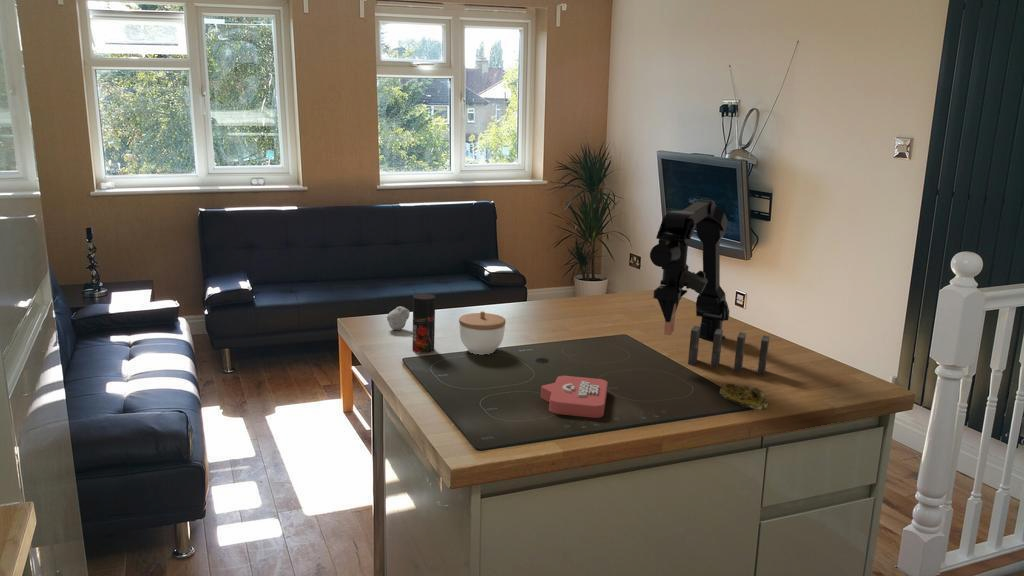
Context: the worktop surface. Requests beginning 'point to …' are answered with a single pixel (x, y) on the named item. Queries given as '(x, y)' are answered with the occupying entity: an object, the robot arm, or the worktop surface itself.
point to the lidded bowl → (481, 332)
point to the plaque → (576, 396)
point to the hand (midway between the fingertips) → (669, 319)
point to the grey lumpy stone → (398, 318)
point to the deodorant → (423, 323)
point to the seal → (744, 396)
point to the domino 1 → (670, 324)
